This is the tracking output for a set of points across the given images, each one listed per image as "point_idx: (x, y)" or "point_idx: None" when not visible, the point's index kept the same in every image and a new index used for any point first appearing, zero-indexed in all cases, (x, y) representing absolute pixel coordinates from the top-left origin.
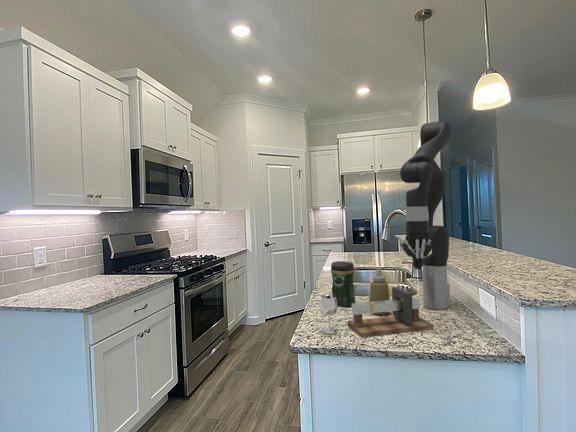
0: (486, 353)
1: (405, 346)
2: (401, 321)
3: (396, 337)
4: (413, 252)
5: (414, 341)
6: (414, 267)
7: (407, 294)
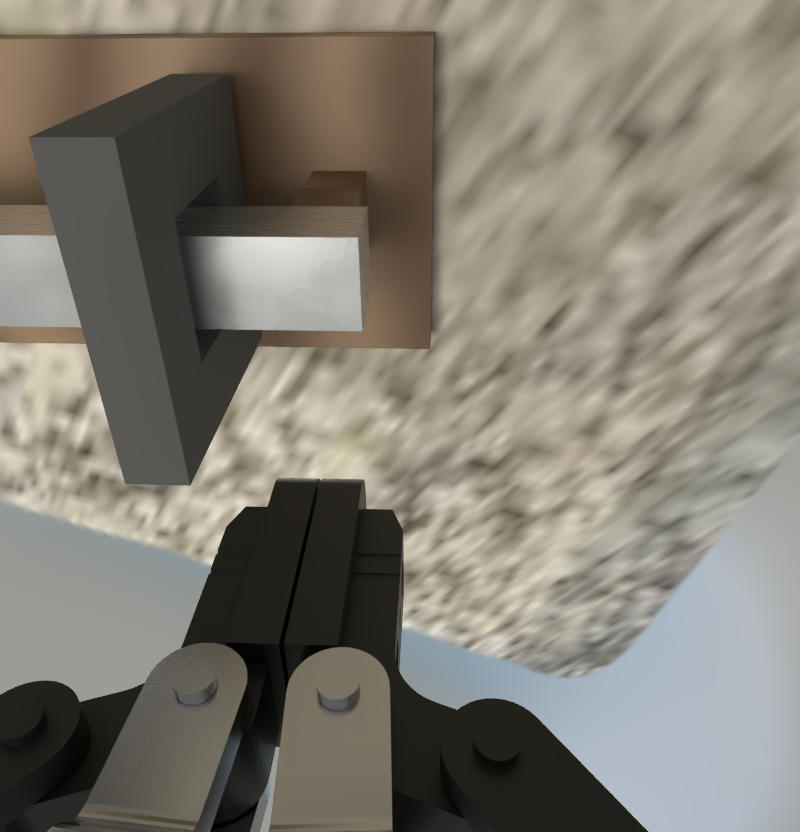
0: (467, 642)
1: (125, 498)
2: None
3: None
4: (139, 817)
5: None
6: (278, 481)
7: (136, 479)
